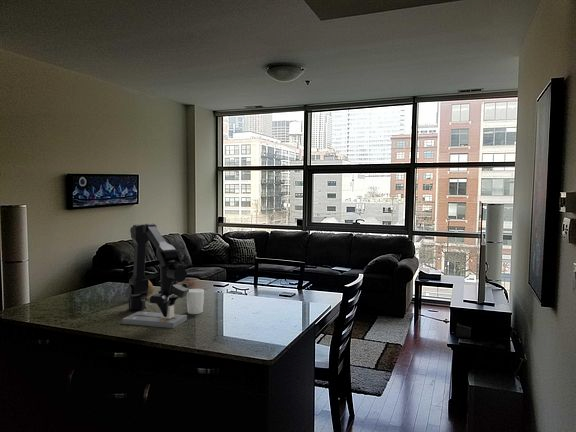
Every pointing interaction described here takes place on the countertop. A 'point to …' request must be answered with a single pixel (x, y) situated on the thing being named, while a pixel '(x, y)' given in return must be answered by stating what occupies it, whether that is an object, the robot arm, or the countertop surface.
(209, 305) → the countertop surface
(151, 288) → the natural sponge
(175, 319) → the slider track base
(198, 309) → the white cup
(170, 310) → the fader cap
